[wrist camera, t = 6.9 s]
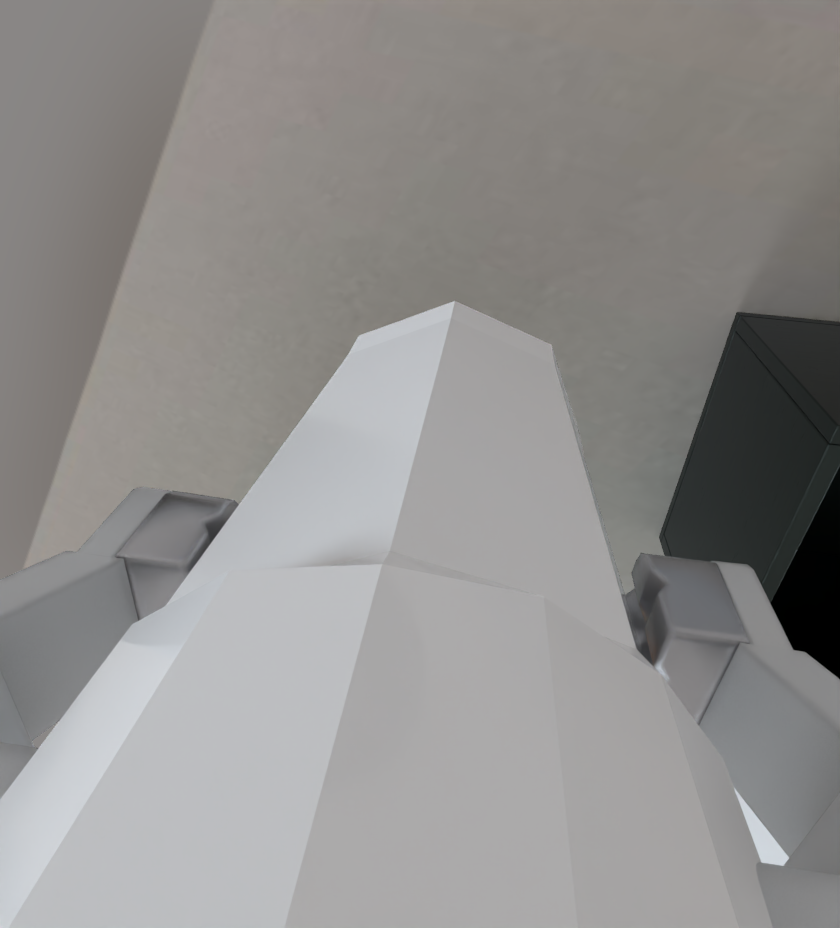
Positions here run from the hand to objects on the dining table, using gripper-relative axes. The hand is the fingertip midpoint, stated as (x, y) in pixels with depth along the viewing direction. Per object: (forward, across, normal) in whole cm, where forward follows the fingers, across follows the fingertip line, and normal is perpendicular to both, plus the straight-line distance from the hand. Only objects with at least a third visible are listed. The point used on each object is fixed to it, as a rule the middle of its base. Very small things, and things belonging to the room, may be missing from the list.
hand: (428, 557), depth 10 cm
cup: (+4, 0, 0) cm, 4 cm away
